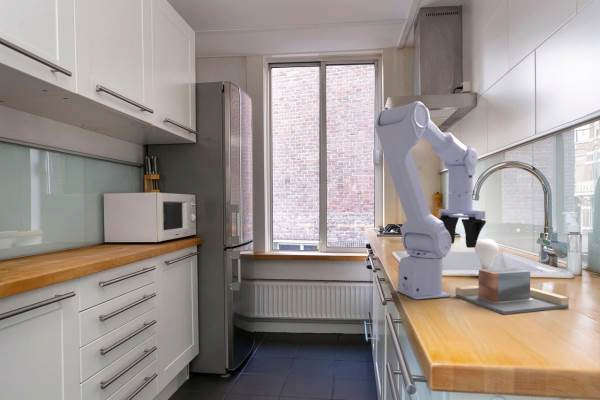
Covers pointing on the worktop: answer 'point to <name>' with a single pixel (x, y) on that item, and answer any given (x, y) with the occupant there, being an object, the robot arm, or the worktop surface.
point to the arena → (515, 301)
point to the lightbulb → (486, 252)
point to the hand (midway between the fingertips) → (459, 245)
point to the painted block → (504, 284)
